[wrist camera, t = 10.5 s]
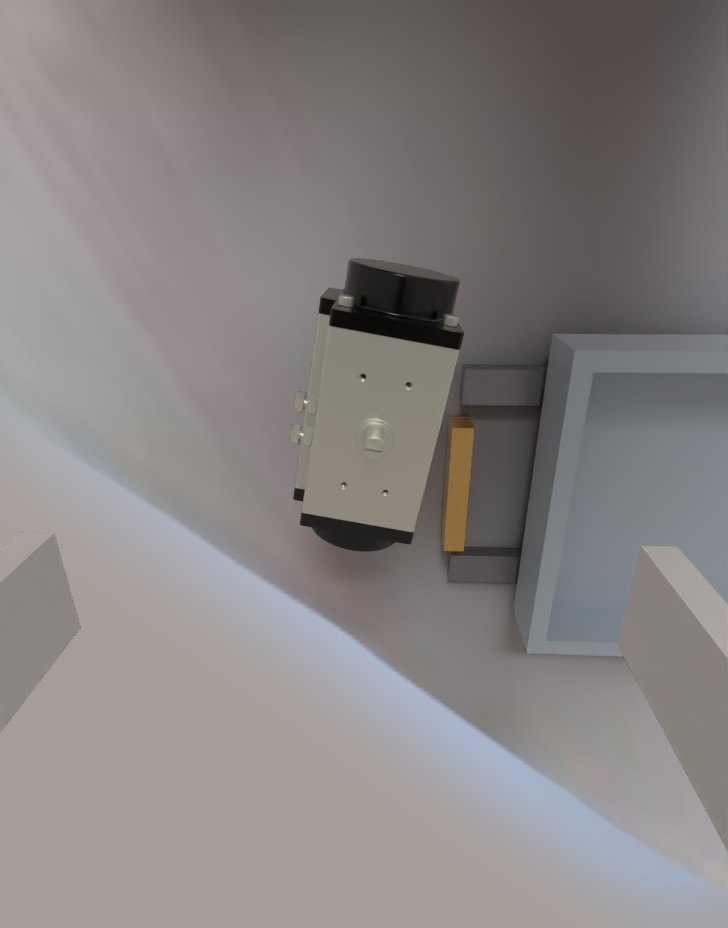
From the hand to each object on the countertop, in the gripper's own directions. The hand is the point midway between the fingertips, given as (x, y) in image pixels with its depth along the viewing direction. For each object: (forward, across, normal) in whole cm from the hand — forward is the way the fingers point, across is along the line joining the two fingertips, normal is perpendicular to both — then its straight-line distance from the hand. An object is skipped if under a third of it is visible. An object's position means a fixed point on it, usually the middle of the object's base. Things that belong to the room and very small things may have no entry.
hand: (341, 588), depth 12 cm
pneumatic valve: (+20, 0, 0) cm, 20 cm away
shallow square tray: (+19, +18, -7) cm, 27 cm away
